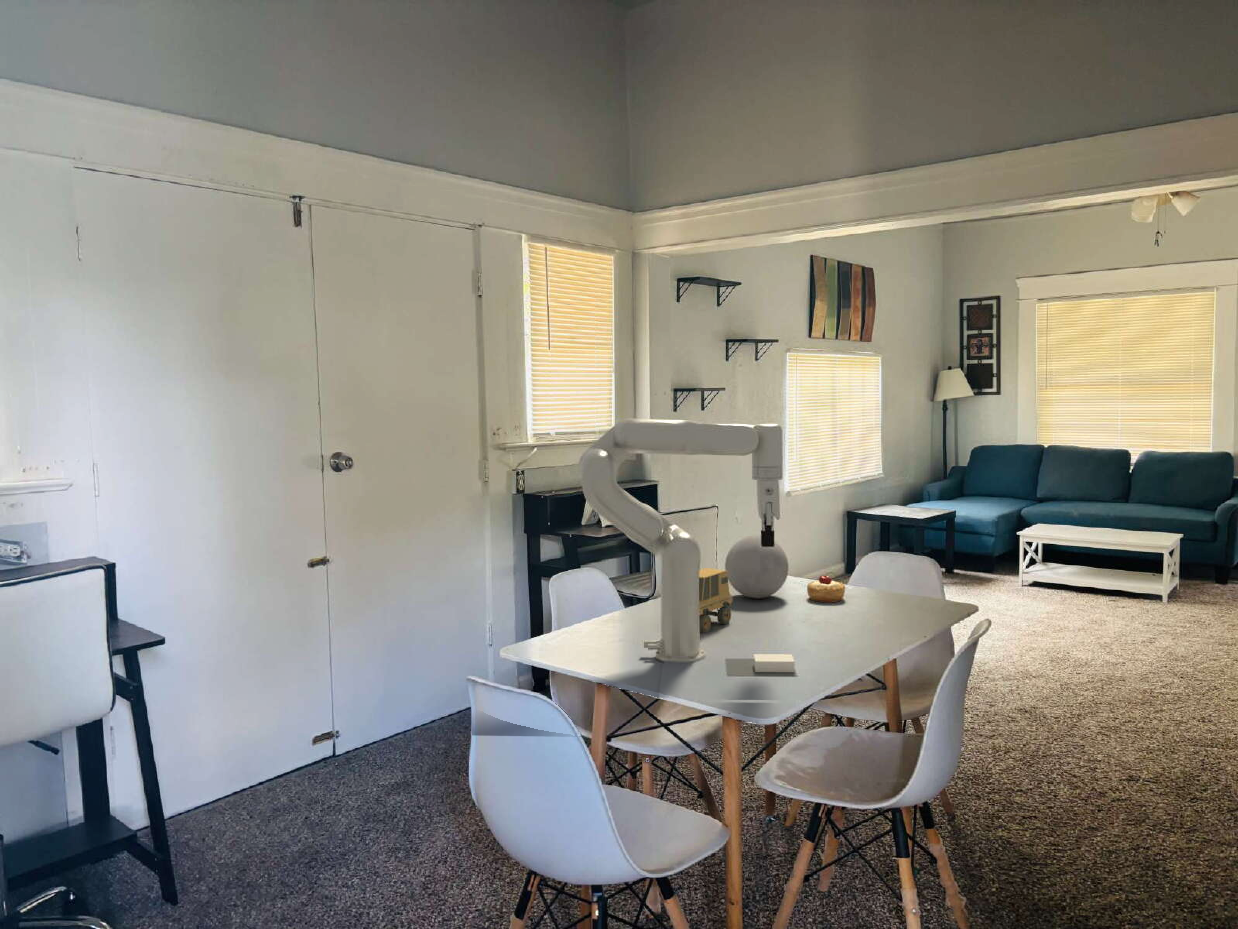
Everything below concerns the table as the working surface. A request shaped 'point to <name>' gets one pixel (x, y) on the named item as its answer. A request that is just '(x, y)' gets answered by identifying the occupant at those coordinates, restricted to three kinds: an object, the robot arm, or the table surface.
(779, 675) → the mat
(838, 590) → the pastry
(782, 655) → the card box
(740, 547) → the ball
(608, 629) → the table surface
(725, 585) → the toy car
